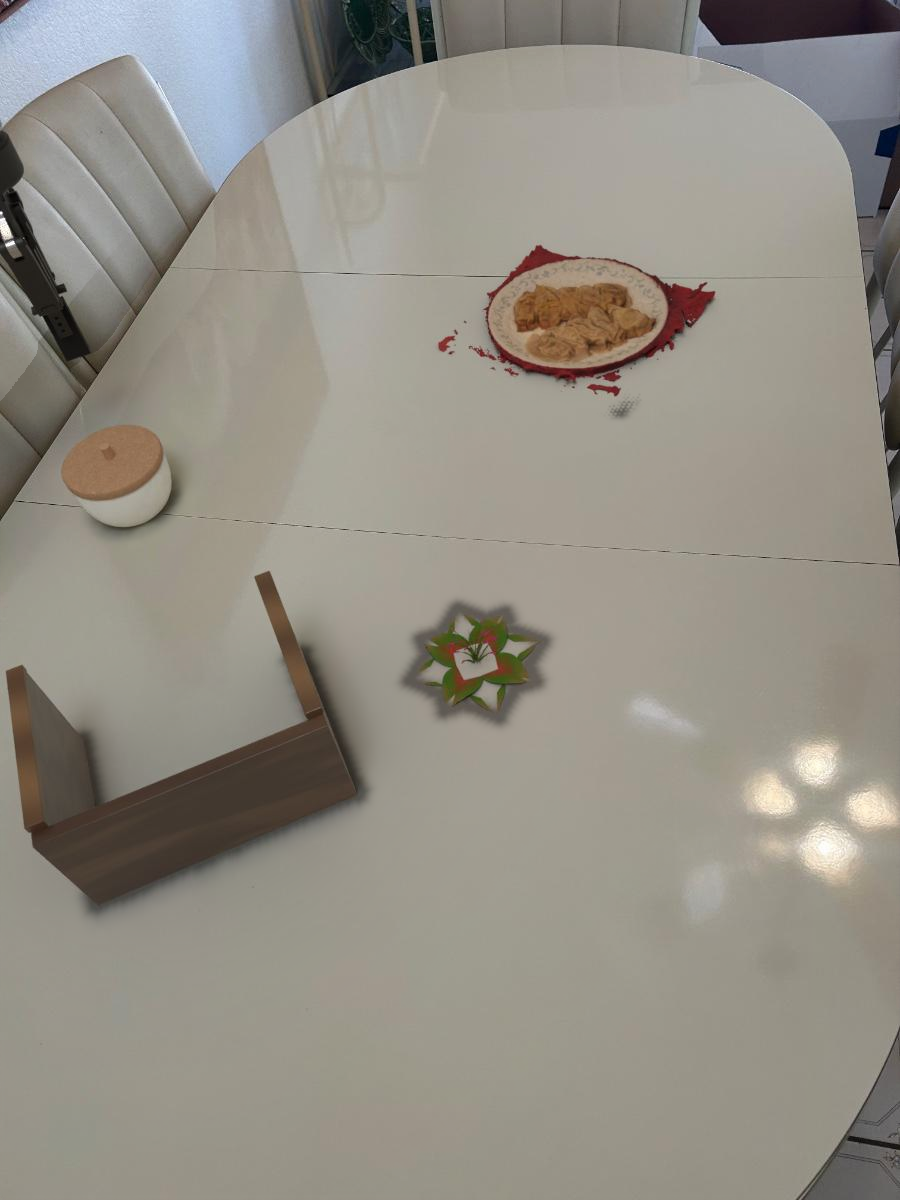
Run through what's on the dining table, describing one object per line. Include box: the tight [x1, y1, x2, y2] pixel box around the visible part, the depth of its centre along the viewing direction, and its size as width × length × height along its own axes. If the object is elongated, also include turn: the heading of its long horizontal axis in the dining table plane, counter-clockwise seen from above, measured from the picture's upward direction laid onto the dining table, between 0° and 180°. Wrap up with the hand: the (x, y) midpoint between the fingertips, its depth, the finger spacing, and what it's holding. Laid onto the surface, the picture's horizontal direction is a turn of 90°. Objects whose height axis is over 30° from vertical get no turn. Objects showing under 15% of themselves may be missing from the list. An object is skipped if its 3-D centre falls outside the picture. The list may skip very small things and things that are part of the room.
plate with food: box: [437, 244, 716, 397], centre depth 114 cm, size 24×26×4 cm
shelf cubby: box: [5, 570, 358, 906], centre depth 77 cm, size 16×23×13 cm
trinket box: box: [61, 424, 173, 528], centre depth 101 cm, size 11×11×9 cm
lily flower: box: [417, 613, 542, 715], centre depth 84 cm, size 12×12×5 cm
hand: (77, 353), depth 104 cm, fingers closed
